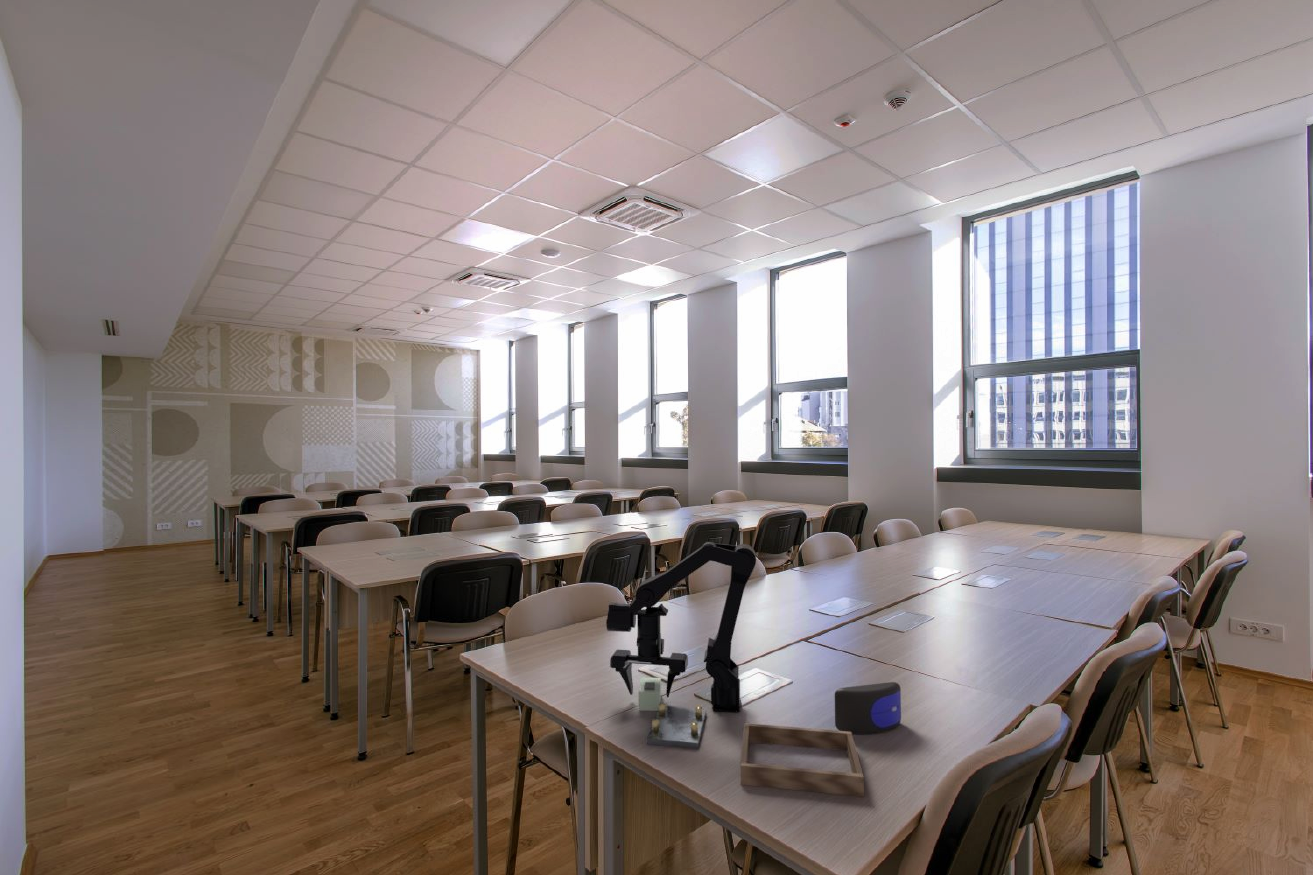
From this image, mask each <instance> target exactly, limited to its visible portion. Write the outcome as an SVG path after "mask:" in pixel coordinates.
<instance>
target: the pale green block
mask: <svg viewBox="0 0 1313 875" xmlns="http://www.w3.org/2000/svg"><path fill="white" fill-rule="evenodd" d="M661 697H662V678H661V677H641V678H640V682H639V689H638V711H639V712H640V711H642V712H643V711H646V712H647V711H652V712H654V711H655V712H656V711H657V712H658V710H659V704H661Z"/></svg>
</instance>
